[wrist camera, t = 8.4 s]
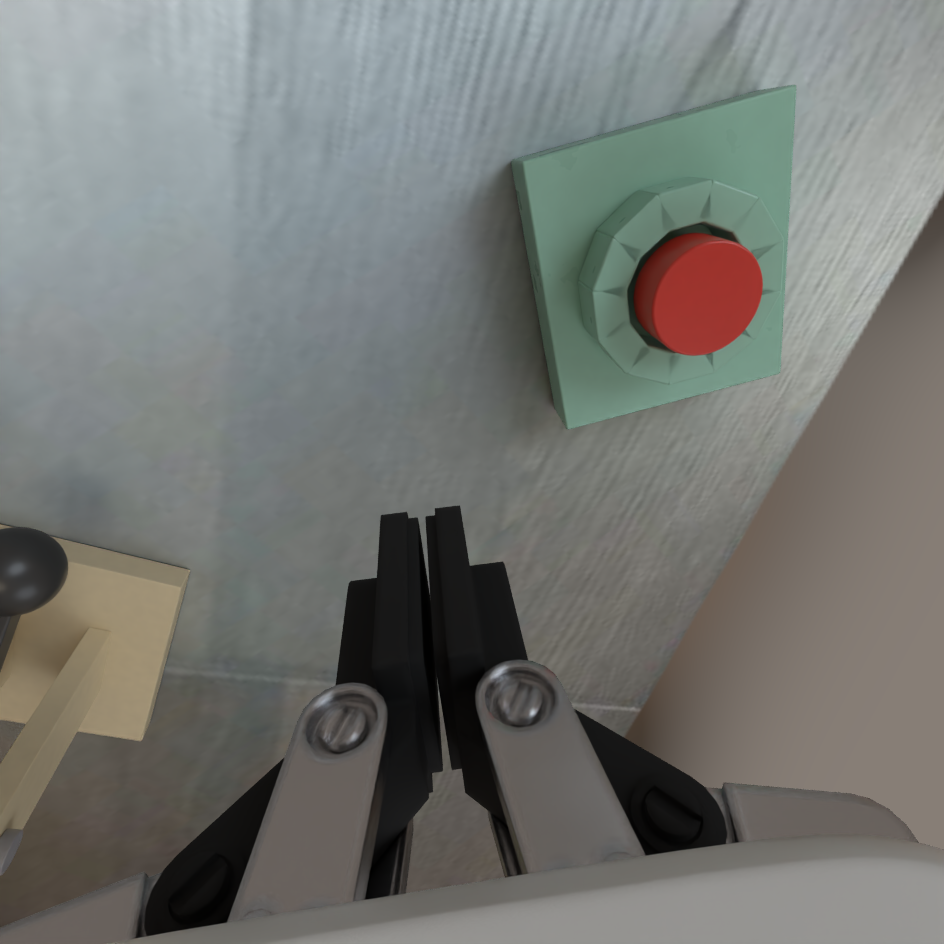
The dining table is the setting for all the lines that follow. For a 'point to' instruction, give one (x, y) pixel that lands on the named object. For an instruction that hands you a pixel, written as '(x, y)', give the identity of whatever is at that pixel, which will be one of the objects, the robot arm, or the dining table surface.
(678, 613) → the dining table surface
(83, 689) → the beige upright bracket
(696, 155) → the control block
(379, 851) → the robot arm
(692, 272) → the button
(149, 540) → the dining table surface
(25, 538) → the lever
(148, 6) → the dining table surface
